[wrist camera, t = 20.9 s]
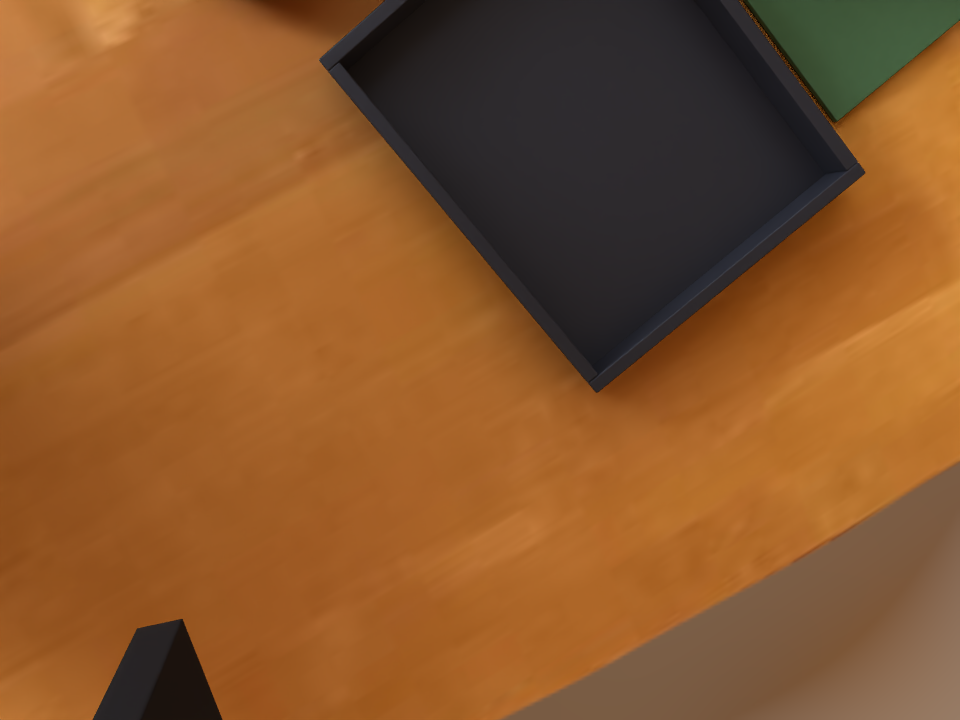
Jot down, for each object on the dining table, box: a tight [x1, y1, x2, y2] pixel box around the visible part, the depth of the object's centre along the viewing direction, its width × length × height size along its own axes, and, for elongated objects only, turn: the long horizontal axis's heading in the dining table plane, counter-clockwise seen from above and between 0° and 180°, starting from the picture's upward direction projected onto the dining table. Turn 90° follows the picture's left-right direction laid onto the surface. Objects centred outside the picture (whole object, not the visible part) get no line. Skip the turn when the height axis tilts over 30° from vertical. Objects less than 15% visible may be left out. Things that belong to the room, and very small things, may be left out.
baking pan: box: [319, 0, 865, 393], centre depth 36 cm, size 18×15×2 cm
